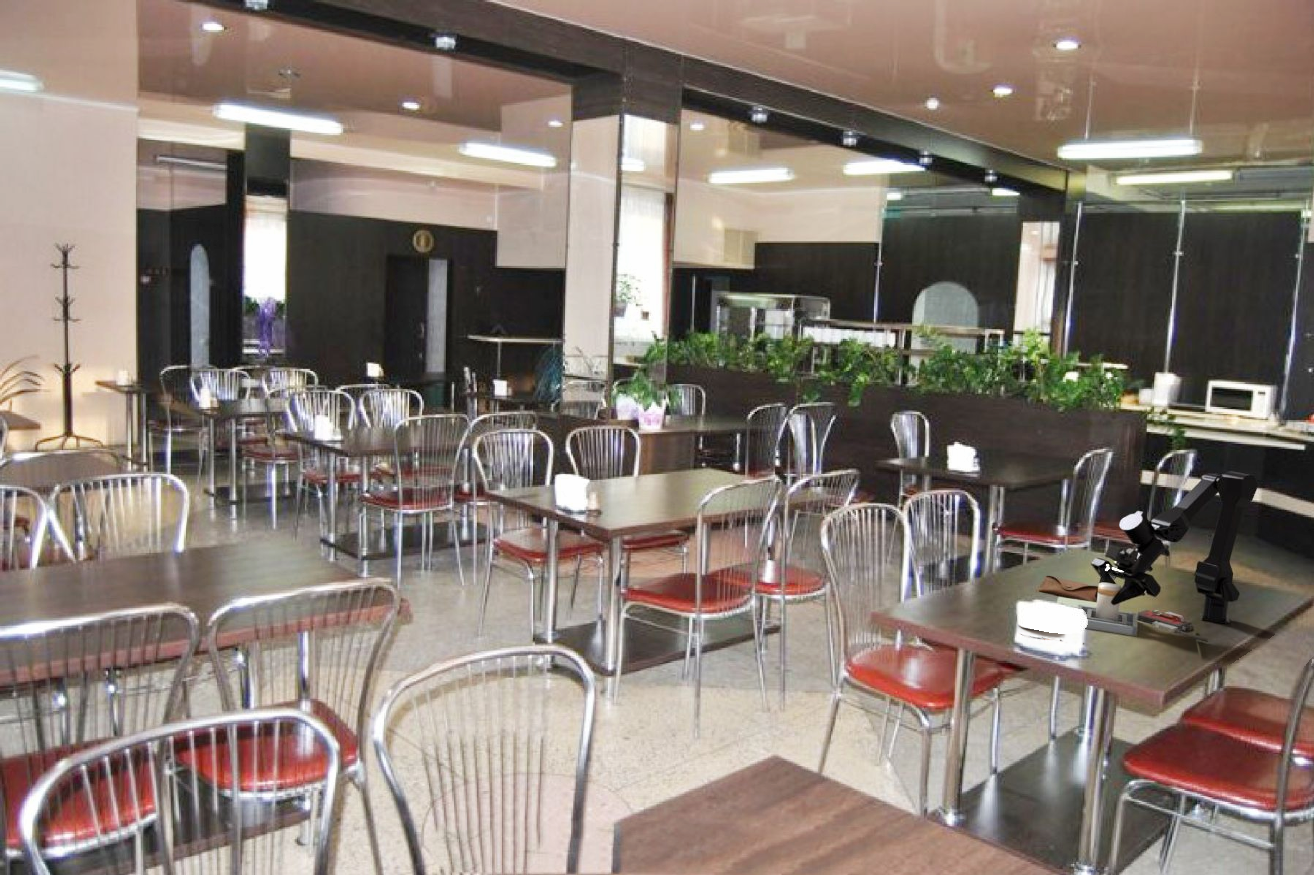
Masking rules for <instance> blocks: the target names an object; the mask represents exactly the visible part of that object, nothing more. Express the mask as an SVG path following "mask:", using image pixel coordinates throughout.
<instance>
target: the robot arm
mask: <svg viewBox="0 0 1314 875" xmlns="http://www.w3.org/2000/svg"><path fill="white" fill-rule="evenodd" d="M1258 485H1259V484H1258V481H1257V480H1256V478H1255V476H1254V475H1252V474H1246V473H1242V472H1236V471H1229V470H1228V471H1226V472H1225V473H1224V474H1222V473H1210V472H1209V473H1205V474H1203V475H1202V476H1201V478H1200V481H1199V482H1198V483H1196V485H1195V486H1194V487H1193V488H1192V489H1191V490H1190V491H1189V492H1188V493H1187V494H1185V496H1184V497H1183V498H1182V499H1181V500H1180V501H1179V502H1178V503H1177V504H1175V506H1173V507H1172V508H1171V509H1167V510H1165V511H1164V510H1163V511H1161V513H1159V514H1158V515H1156V516H1155V517H1153V519H1152V520H1151V519H1150V520H1149V518H1148V517H1147V514H1146V513H1145V512H1144V511H1140V510H1137V511H1136V512H1135V513H1130V514H1127V515H1126V516H1125V517H1123V518H1122V519H1121V520H1120V521H1119V528H1120V529H1121V531H1123V533H1124V535H1125V536H1126V537H1127V539H1128V540H1129V541H1130V543H1131V544H1133V545H1135V546H1134V547H1133V548H1130V547H1129V548H1127V549H1124V548H1122V547H1118V546H1115V545H1112V544H1109V546H1108V548H1107V550H1106V552H1105V555H1104V557H1105V558H1109V559H1111V560H1112V561H1113V564H1114V566H1116V568H1115V567H1114V566H1113V564H1112V563H1111V561H1109V560H1107V559H1104V558H1100V557H1096V558H1095V557H1094V559H1093V560H1092V561H1091V563H1090V565H1091V566H1092V568H1093V569H1094V570H1095V572H1096V573H1097V575H1098V576H1099V577H1100V578H1099V582H1098V584H1097V586H1099V583H1113V584H1117V583H1116V581H1115V579H1116V578H1118V579H1121V580H1124V582H1123V585H1122V586H1121V589H1120V590H1119V592H1118V593H1117V594H1116V595H1115V597H1114V598H1113V600H1112V601H1111V603H1112V605H1116V604H1119V603H1120V604H1121V603H1124V602H1126V601H1129V600H1132V599H1135V598H1137V597H1142V596H1143V597H1145V596H1146V595H1148V596H1151V597H1154V598H1157V597H1158V595H1159V594H1160V593H1161V589H1162V587H1161V585H1160V584H1159V582H1157V580H1156V579H1155V577H1154V575H1152V574H1149V573H1146V572H1152V571H1153V570H1154V568H1153V566H1152V565H1153V564H1154V563H1155V562H1156V561H1157V560H1158V559H1159V558H1160V556H1161V555H1162V556H1165V557H1170V554H1171V553H1170V549H1169V548H1170V546H1169V545H1167V544H1164V542H1163V541H1166V542H1168V543H1169V542H1170V543H1178V542H1180V541H1181V540H1182V539H1183V537H1184V536H1186V534H1187V532H1188V531H1189V529H1190V522H1191V521H1192V520H1193V518H1195V516H1196V515H1198V513H1199V512H1201V511H1202V509H1203V508H1204V507H1205V506H1206V505H1207V504H1208V503H1209V502H1210V501H1211V500H1212V499H1213V498H1214V497H1216V495H1217V494H1218V496H1219V499H1220V502H1221V506H1220V511H1219V515H1218V517H1217V522H1216V526H1215V529H1214V534H1213V536H1212V537H1213V538H1212V541H1211V545H1210V550H1209V552H1208V556H1207V557H1206V558H1205V559H1204V560H1198V562H1197V563H1196V569H1195V570H1194V573H1193V576H1194V583H1195V586H1196V591H1197V594H1202V595H1204V599H1203V609H1202V610H1203V611H1202V612H1199V616H1200V619H1201V620H1202V621H1205V622H1206V621H1208V622H1215V623H1220V624H1228V625H1229V624H1231V623H1230V622H1231V621H1230V619H1229V616H1228V612H1229V606H1230V605H1229V604H1230V602H1231V603H1232V602H1233V603H1234V602H1236V601H1238V600H1239V597H1240V591H1239V590H1238V589H1237V587H1236V586H1235V585H1234V583H1233V578H1234V571H1233V568H1232V565H1231V562H1230V561H1231V556H1232V554H1233V550H1234V546H1235V543H1236V542H1235V541H1236V538H1237V534H1238V531H1239V527H1240V522H1241V520H1242V519H1241V518H1242V515H1243V511H1244V509H1245V507H1247V506H1248V505H1249V504H1250V503H1251V502H1252V501H1253V499H1254V498H1255V495H1256V492H1257V489H1258ZM1162 540H1163V541H1162ZM1145 592H1146V593H1145ZM1097 596H1098V588H1097V591H1096V593H1095V597H1096V599H1097ZM1120 604H1119V605H1120Z"/></svg>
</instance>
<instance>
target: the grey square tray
mask: <svg viewBox="0 0 1314 875" xmlns="http://www.w3.org/2000/svg"><path fill="white" fill-rule="evenodd" d="M1078 609H1083V610H1084V611H1085V612H1086V614H1087V619H1088V625H1087V628H1086V629H1089V630H1094V631H1101V632H1106V633H1107V632H1108V633H1112V634H1113V633H1114V634H1119V635H1127V636H1133V637H1137V636H1138V635H1137V634H1138V620H1137V615H1138V613H1134V612H1127V611H1120V610H1119V613H1118V621H1111V620H1105V619H1098V618H1095V616H1096V607H1089V606H1082V605H1078Z"/></svg>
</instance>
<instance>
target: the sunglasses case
mask: <svg viewBox="0 0 1314 875" xmlns="http://www.w3.org/2000/svg"><path fill="white" fill-rule="evenodd" d="M1097 588H1098V585H1090V584H1089V585H1088V584H1085V583H1081V582H1077V581H1072V580H1067V579H1063V578H1059V577H1055V576H1052V575H1046V576H1045V578H1044V580H1043V581H1042V582H1041V584H1040V585H1039V587H1038V589H1037V590H1036V592H1037V591H1039V593H1044V594H1049V595H1053V596H1057V597H1063V598H1070V599H1077V600H1083V601H1090V602H1097V599H1096V597H1095V593H1096V591H1097Z"/></svg>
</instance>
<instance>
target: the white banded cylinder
mask: <svg viewBox="0 0 1314 875" xmlns="http://www.w3.org/2000/svg"><path fill="white" fill-rule="evenodd" d="M1098 585H1099V586H1098ZM1098 585H1097V586H1098V596H1097V606H1096V616H1095V618H1098V619H1105V620H1111V621H1118V613H1119V611H1120V604H1121V603H1119V604H1116V605H1112V603H1111V601H1112V600H1113V598H1114V597H1115V595H1116V594H1117V593H1118V592H1119V590H1120V589H1121V588H1122V586H1121V585H1120V584H1117V583H1116V584H1113V583H1099V582H1098Z"/></svg>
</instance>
